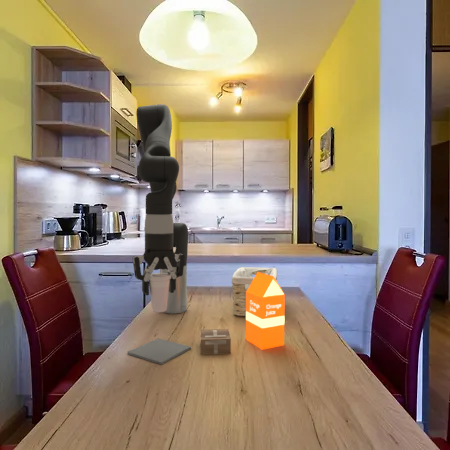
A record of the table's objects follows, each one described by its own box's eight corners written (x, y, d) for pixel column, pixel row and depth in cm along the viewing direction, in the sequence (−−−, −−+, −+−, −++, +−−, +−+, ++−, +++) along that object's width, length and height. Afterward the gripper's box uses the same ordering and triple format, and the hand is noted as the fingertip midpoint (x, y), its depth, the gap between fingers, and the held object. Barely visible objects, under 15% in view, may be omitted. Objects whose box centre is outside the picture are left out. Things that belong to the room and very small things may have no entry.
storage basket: (238, 300, 153) (238, 265, 152) (277, 302, 151) (277, 267, 150) (230, 317, 130) (230, 276, 129) (276, 319, 127) (276, 278, 126)
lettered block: (200, 343, 105) (200, 328, 105) (228, 342, 105) (228, 328, 105) (200, 354, 97) (200, 339, 96) (230, 353, 97) (230, 338, 97)
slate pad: (127, 354, 96) (127, 351, 96) (158, 340, 107) (158, 338, 107) (161, 364, 90) (161, 362, 90) (191, 348, 100) (191, 346, 100)
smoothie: (166, 314, 94) (166, 260, 93) (143, 313, 95) (142, 260, 95) (174, 307, 100) (174, 257, 100) (152, 306, 102) (152, 256, 101)
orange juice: (261, 349, 100) (262, 277, 99) (245, 339, 108) (245, 272, 107) (284, 345, 103) (285, 275, 102) (267, 335, 111) (268, 270, 110)
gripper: (134, 233, 90) (135, 299, 91) (189, 231, 97) (189, 294, 97) (128, 231, 97) (129, 293, 98) (180, 230, 103) (180, 288, 104)
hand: (159, 293), depth 98 cm, fingers closed on smoothie, 6 cm apart
